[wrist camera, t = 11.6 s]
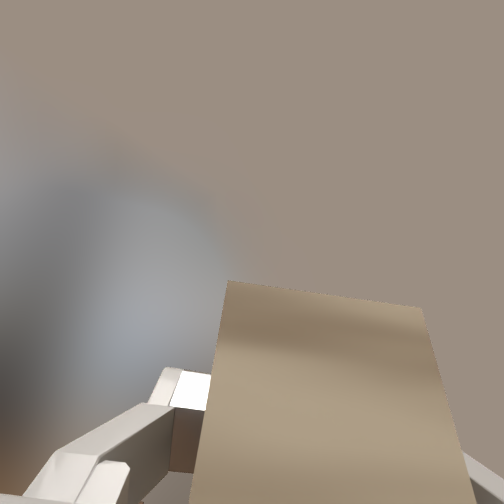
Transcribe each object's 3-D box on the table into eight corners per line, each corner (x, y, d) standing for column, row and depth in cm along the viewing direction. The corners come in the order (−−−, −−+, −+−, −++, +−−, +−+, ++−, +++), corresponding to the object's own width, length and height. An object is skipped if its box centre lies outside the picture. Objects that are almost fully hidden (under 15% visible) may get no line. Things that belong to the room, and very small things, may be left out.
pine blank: (498, 578, 4) (421, 307, 7) (182, 539, 4) (227, 280, 7) (263, 553, 21) (267, 476, 23) (198, 546, 21) (210, 469, 23)
